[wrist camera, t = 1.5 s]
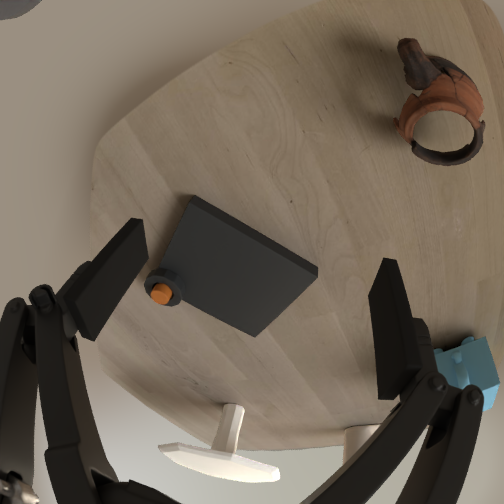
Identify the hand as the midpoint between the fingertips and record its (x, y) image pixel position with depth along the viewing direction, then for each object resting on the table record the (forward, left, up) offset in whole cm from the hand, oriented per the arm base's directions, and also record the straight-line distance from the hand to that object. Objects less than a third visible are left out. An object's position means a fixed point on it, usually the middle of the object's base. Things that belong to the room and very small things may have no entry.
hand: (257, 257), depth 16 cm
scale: (+2, -17, -17) cm, 24 cm away
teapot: (+42, -13, -17) cm, 47 cm away
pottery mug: (+7, +14, -17) cm, 23 cm away
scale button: (-4, -23, -14) cm, 27 cm away
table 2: (+22, -55, -17) cm, 62 cm away
